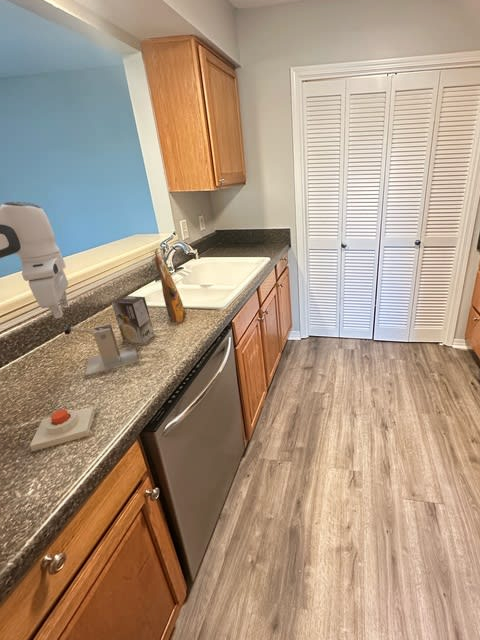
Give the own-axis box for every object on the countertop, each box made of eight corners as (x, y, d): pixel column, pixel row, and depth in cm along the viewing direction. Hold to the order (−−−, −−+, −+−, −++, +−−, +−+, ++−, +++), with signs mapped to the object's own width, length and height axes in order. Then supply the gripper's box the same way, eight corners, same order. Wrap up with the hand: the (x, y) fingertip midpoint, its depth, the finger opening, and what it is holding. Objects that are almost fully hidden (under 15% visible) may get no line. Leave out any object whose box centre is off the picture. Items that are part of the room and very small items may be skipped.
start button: (51, 426, 74) (48, 420, 73) (55, 417, 77) (52, 411, 76) (67, 422, 75) (65, 416, 74) (71, 413, 78) (68, 407, 77)
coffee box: (156, 336, 119) (146, 296, 112) (144, 345, 113) (133, 303, 107) (135, 335, 121) (123, 295, 115) (122, 343, 115) (110, 302, 109)
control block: (32, 451, 72) (26, 440, 70) (44, 424, 79) (39, 413, 78) (88, 436, 75) (83, 424, 74) (95, 411, 83) (91, 400, 81)
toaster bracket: (86, 379, 96) (72, 341, 91) (90, 361, 105) (77, 326, 100) (137, 365, 102) (127, 329, 97) (136, 349, 111) (127, 316, 106)
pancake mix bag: (165, 328, 125) (147, 258, 114) (169, 309, 142) (154, 246, 131) (183, 325, 126) (168, 255, 115) (185, 307, 143) (172, 244, 132)
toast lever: (63, 335, 92) (64, 327, 92) (66, 328, 96) (67, 321, 96) (107, 340, 98) (109, 333, 98) (108, 333, 102) (110, 327, 102)
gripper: (38, 258, 94) (55, 301, 100) (19, 276, 77) (41, 327, 83) (64, 254, 97) (79, 297, 102) (51, 271, 80) (70, 321, 85)
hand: (62, 311), depth 92 cm, fingers open, 8 cm apart
